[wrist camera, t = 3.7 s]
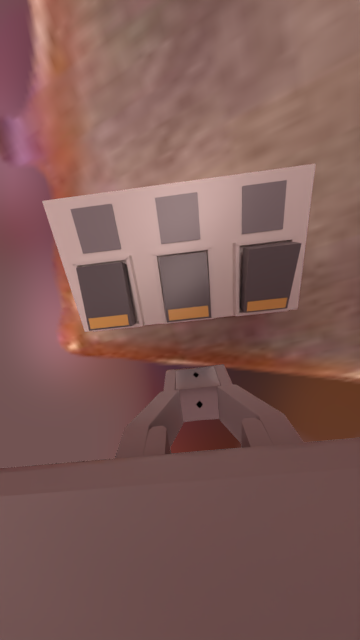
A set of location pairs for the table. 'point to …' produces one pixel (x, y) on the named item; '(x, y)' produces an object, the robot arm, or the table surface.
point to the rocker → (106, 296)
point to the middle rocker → (185, 287)
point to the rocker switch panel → (184, 233)
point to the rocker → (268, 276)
